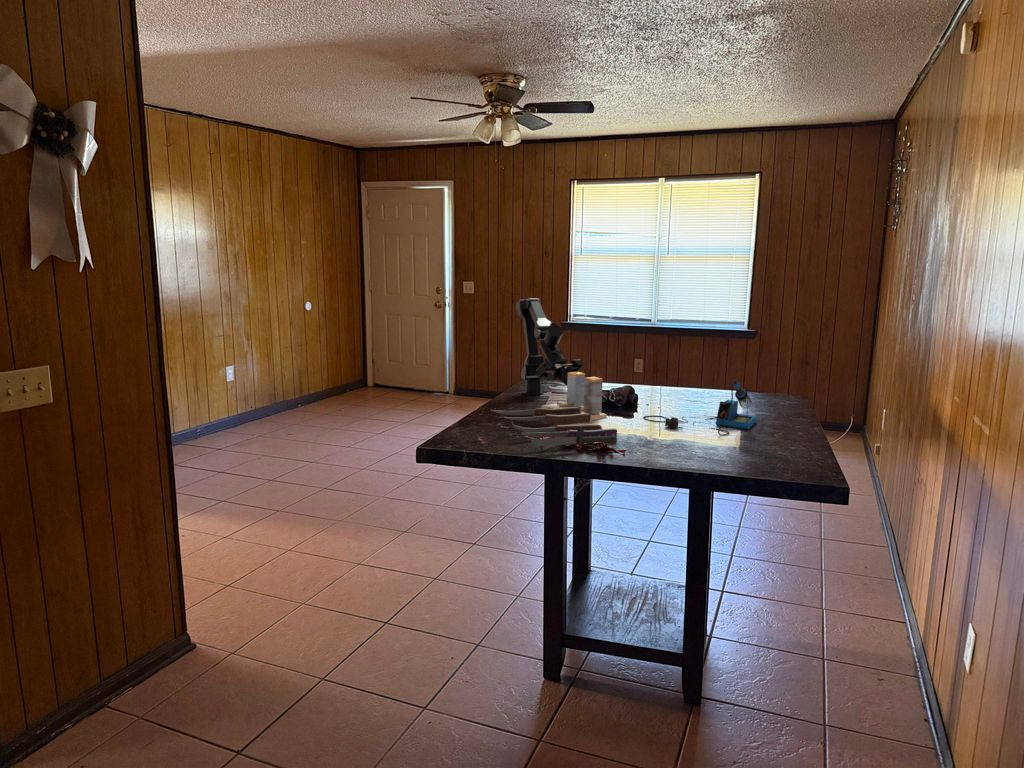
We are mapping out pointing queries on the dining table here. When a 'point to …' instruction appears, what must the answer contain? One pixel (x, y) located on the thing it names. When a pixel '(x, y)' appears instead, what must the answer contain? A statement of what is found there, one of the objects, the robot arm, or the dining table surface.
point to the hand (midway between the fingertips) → (570, 386)
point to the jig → (588, 399)
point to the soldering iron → (724, 413)
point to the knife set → (563, 427)
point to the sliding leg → (575, 389)
